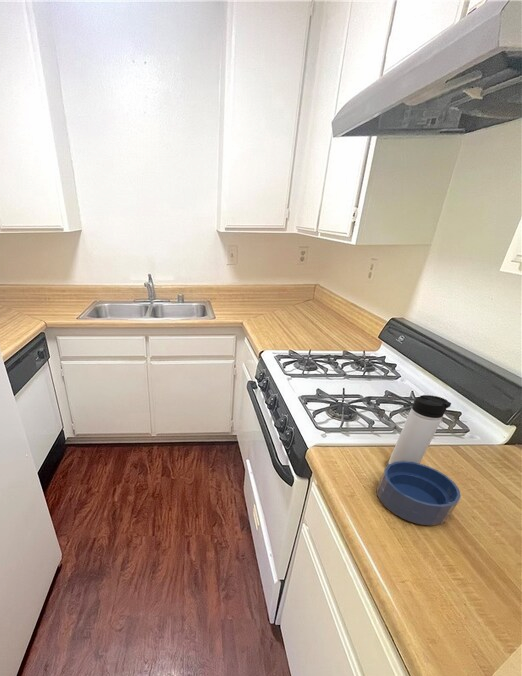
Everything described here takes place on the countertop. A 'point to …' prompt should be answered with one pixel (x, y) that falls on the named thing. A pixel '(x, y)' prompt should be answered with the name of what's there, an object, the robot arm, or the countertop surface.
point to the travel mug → (419, 428)
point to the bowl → (417, 493)
